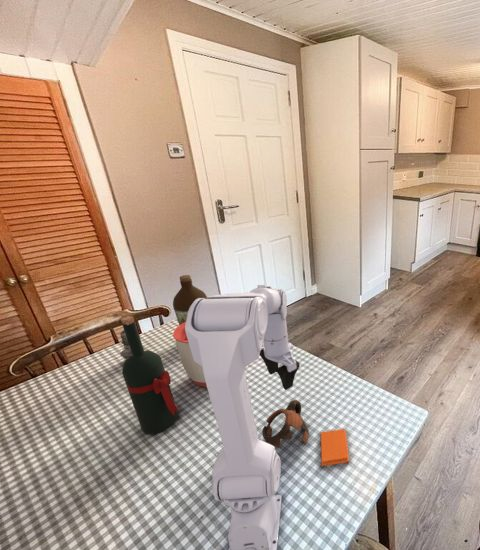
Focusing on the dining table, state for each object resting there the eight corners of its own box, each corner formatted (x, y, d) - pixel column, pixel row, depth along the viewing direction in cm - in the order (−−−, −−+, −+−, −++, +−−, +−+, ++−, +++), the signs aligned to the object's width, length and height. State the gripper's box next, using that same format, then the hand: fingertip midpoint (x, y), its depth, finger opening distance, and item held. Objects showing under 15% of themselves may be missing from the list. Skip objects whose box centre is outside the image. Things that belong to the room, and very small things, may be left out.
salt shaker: (126, 356, 101) (115, 325, 97) (147, 352, 103) (137, 321, 99) (121, 367, 96) (109, 335, 92) (143, 362, 98) (133, 330, 94)
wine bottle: (167, 440, 72) (132, 331, 61) (133, 431, 74) (94, 324, 63) (193, 414, 79) (165, 313, 68) (161, 406, 81) (130, 307, 70)
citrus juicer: (228, 396, 85) (216, 335, 77) (173, 389, 87) (156, 329, 80) (256, 361, 99) (247, 307, 92) (207, 356, 102) (196, 303, 94)
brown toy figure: (307, 456, 69) (285, 440, 64) (274, 462, 72) (251, 446, 68) (317, 406, 78) (299, 389, 74) (288, 413, 81) (269, 397, 77)
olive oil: (198, 329, 117) (185, 269, 108) (221, 334, 114) (209, 272, 105) (175, 345, 107) (158, 280, 98) (200, 350, 105) (184, 284, 95)
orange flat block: (349, 462, 67) (348, 458, 66) (321, 466, 66) (321, 462, 66) (345, 431, 74) (345, 428, 74) (320, 435, 73) (320, 431, 73)
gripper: (305, 340, 71) (309, 386, 76) (275, 318, 80) (280, 360, 85) (278, 353, 66) (284, 401, 71) (250, 327, 76) (257, 371, 81)
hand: (280, 379), depth 78 cm, fingers open, 7 cm apart
